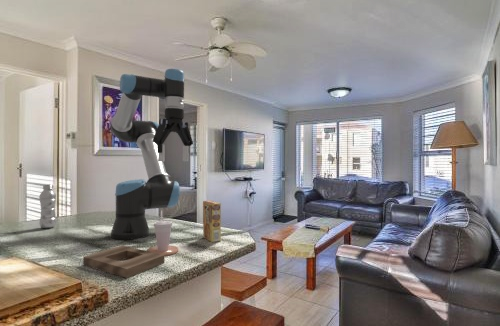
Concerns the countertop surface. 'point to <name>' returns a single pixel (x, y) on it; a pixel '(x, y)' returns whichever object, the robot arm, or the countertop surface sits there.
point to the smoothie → (162, 234)
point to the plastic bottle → (47, 207)
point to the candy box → (212, 221)
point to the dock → (128, 268)
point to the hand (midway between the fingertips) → (174, 161)
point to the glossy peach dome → (170, 251)
